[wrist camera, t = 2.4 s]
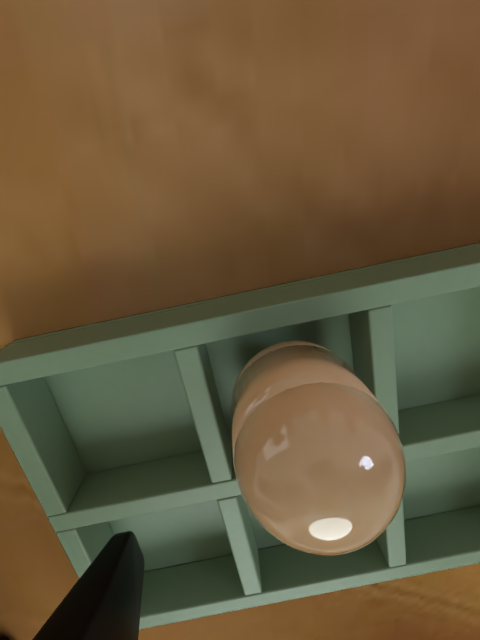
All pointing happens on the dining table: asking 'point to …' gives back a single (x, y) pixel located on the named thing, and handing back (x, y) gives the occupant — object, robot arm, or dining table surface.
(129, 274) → the dining table surface
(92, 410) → the green compartment tray
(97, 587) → the robot arm
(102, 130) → the dining table surface
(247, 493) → the beige rounded peg
